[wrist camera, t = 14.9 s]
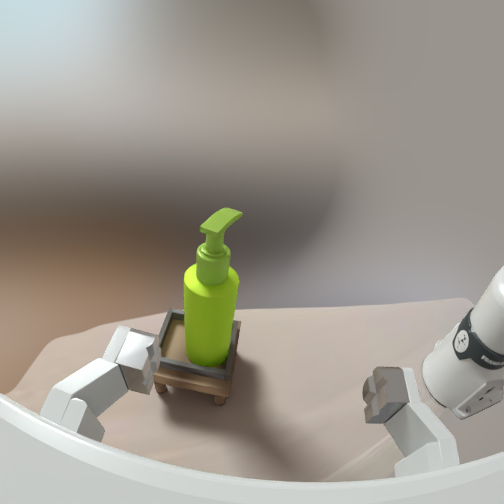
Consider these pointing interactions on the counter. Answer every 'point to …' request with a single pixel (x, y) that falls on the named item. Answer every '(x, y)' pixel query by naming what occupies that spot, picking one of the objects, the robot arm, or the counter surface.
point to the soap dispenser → (211, 294)
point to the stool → (183, 370)
